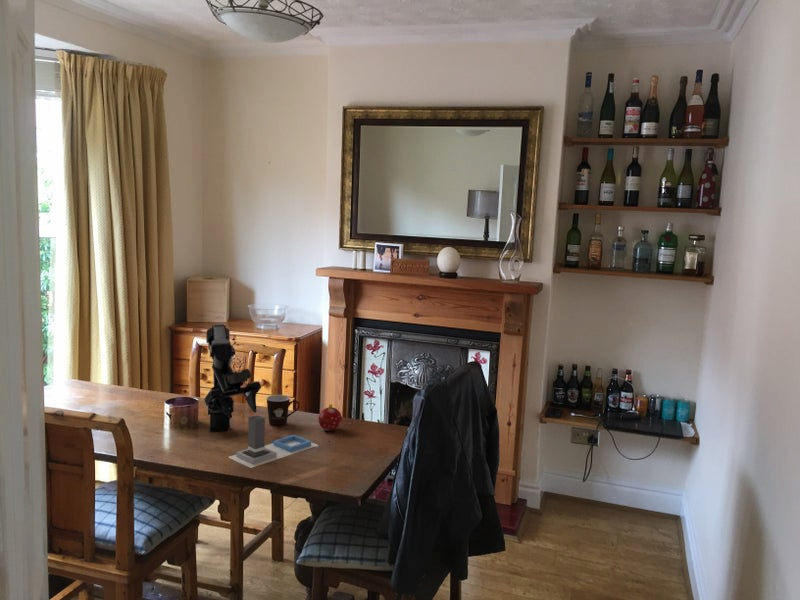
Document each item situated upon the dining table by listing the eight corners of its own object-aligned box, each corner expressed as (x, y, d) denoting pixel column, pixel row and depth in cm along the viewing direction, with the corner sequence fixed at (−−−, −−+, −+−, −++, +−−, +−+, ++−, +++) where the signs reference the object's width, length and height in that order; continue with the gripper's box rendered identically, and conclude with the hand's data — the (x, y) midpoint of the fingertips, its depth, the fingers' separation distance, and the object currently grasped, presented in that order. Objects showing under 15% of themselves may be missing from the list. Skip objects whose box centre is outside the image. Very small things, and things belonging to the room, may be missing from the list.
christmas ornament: (313, 430, 230) (314, 404, 229) (327, 424, 238) (328, 399, 237) (332, 435, 226) (332, 409, 225) (346, 429, 233) (346, 403, 232)
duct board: (250, 470, 192) (250, 463, 192) (227, 460, 200) (227, 452, 200) (318, 448, 214) (318, 440, 213) (295, 439, 221) (295, 432, 221)
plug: (245, 456, 201) (245, 417, 199) (258, 452, 205) (258, 414, 203) (254, 461, 198) (254, 421, 196) (267, 457, 201) (267, 418, 200)
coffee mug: (262, 426, 233) (262, 400, 232) (271, 419, 242) (271, 394, 240) (292, 429, 231) (292, 403, 230) (300, 422, 240) (300, 396, 238)
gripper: (209, 365, 199) (228, 407, 193) (258, 357, 213) (277, 396, 207) (196, 384, 205) (214, 425, 199) (245, 376, 219) (263, 414, 213)
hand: (243, 414), depth 204 cm, fingers open, 9 cm apart
